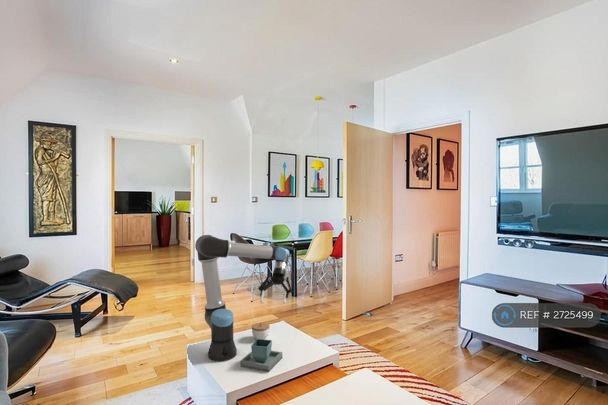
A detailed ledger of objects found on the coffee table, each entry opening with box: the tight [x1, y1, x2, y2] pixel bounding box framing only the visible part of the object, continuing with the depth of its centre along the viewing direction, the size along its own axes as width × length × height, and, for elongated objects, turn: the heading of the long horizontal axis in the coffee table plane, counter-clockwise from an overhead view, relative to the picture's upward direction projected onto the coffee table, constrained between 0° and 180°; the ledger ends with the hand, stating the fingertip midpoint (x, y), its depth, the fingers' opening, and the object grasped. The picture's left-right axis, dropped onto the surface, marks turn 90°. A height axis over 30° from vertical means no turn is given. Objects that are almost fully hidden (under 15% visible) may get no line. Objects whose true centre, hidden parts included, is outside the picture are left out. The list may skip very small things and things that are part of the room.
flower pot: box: [250, 339, 273, 362], centre depth 170 cm, size 9×9×9 cm
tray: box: [239, 349, 283, 373], centre depth 170 cm, size 16×16×3 cm
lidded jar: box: [251, 322, 270, 340], centre depth 201 cm, size 11×11×9 cm
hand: (272, 302), depth 188 cm, fingers open, 13 cm apart
